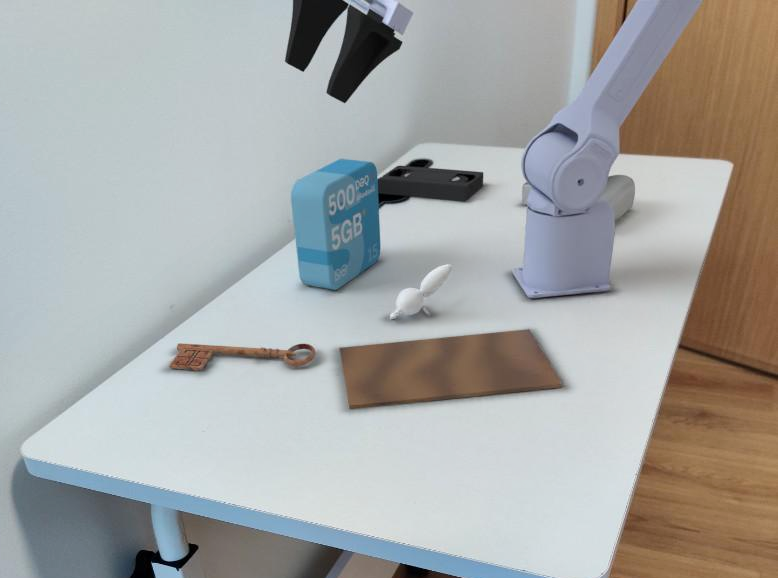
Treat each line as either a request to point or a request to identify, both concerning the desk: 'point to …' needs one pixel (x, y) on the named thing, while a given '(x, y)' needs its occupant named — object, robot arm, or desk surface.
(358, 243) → the data package
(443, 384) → the brown wooden board
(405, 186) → the vhs tape
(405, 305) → the rabbit figurine
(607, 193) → the infrared thermometer
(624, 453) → the desk surface
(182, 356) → the key
